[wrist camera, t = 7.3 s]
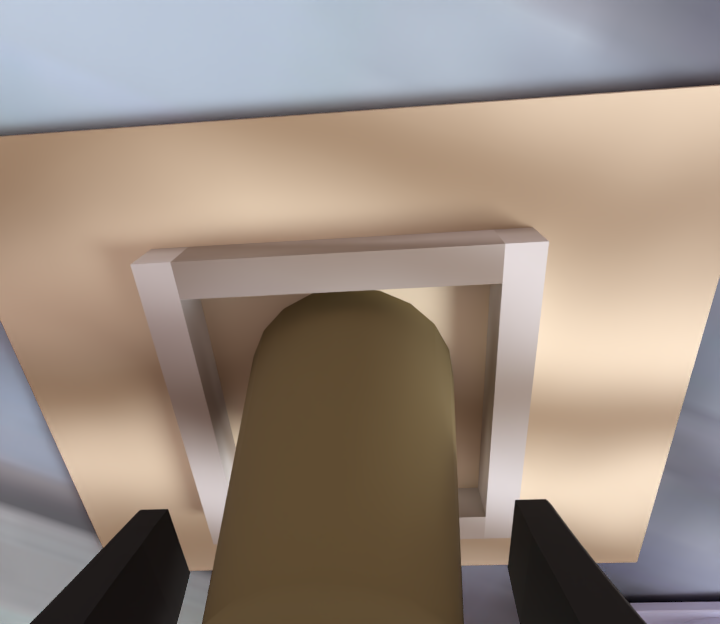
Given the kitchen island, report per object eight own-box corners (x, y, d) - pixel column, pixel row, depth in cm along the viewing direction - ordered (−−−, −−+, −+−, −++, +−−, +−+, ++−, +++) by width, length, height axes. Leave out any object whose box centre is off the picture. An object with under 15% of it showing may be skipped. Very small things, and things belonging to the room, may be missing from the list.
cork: (210, 364, 14) (-192, 1049, 4) (367, 243, 12) (341, 935, 2) (340, 483, 16) (285, 1137, 6) (492, 393, 14) (771, 1115, 4)
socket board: (629, 547, 18) (654, 594, 16) (121, 558, 19) (97, 602, 17) (755, 82, 11) (822, 80, 9) (-60, 140, 12) (-128, 148, 10)
